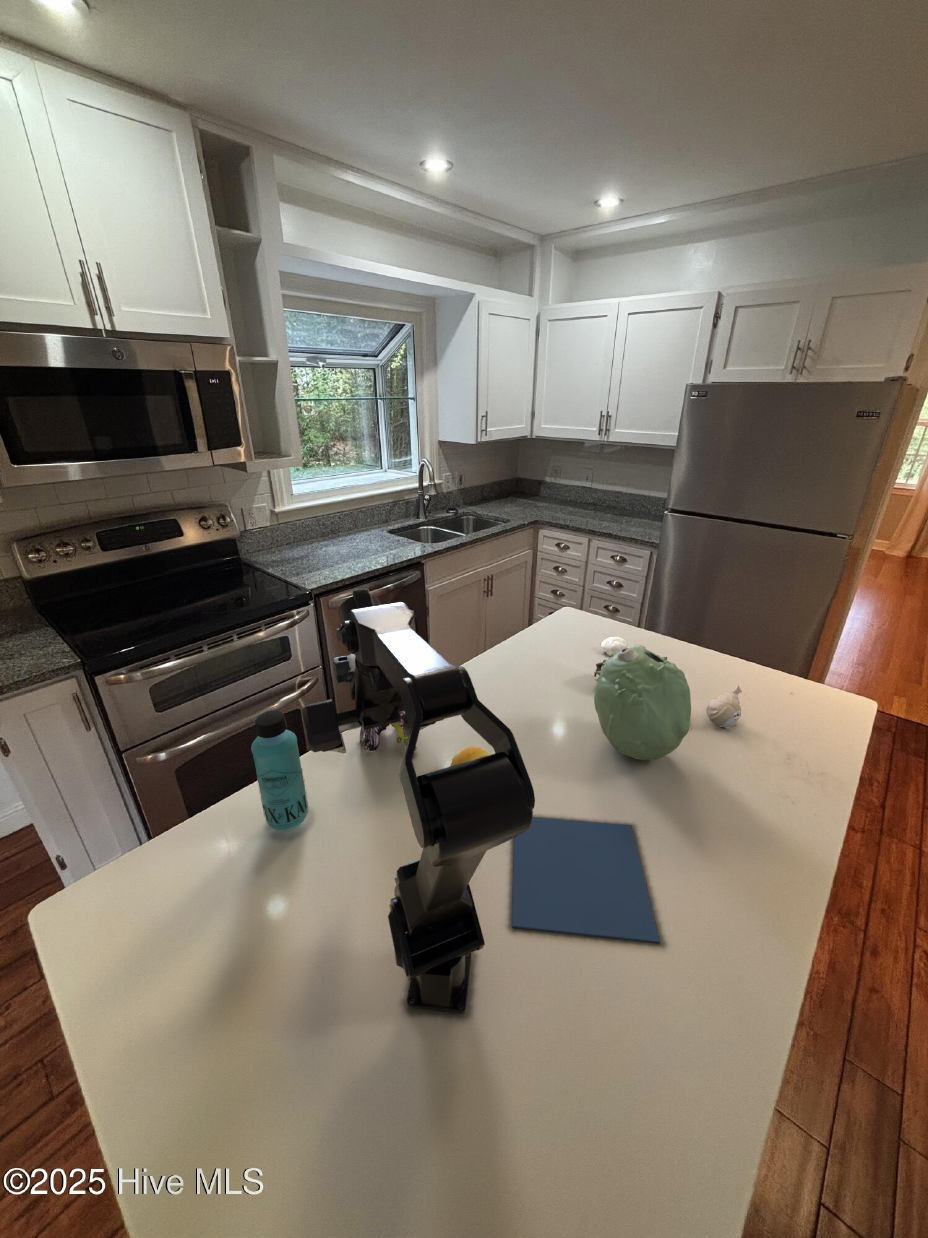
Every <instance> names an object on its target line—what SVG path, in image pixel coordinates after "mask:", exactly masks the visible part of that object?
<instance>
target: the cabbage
mask: <svg viewBox="0 0 928 1238" xmlns="http://www.w3.org/2000/svg"><path fill="white" fill-rule="evenodd" d="M610 655H611V656H612V657H611V656H609V657H608V658H607V659H606V658H605V659H602V662H603V665H602V667H601V671H597V672H595V671H594V672H593V674H594V673H595V674H597V676H598V677H597V678H595V681H596V685H595V691H594V696H593V702H594V703H593V704H594V709H595V712H596V714H597V718H598V721H599V725H600V728H601V730H602V732H603V735H604V736H605V738H607V740H608V741H609V744H610V745H611V746H613V747H614V749H616V750H617V751H618V752H619V753H621V754H622V755H624V756H626V757H631V758H633V759H637V760H641V761H653V760H658V759H661V758H664V757H666V756H667V755H669V754H671V753H673V752H674V751H676V750H677V749H678V748H679V747H680V745H681V744H682V741H683V739H684V738H685V737H686V736H687V735H688V733H689V732H690V727H691V715H692V701H691V699H692V697H691V689H690V686H689V684H688V680H687V678H686V675H685V673H684V671H683V670H682V669H680V668H679V667H678V666H677V665H676V663H674V662H670V661H669V660H668V656H660V655H658V654H656V653H654V652H653V651H651V650H649V649H647V648H646V646H645V645H643V644H635V645H634V646H633V647H630V648H628V647H627V648H623V649H622V650H620V651H618V652H617V654H610Z"/></svg>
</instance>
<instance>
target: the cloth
mask: <svg viewBox="0 0 928 1238" xmlns="http://www.w3.org/2000/svg"><path fill="white" fill-rule="evenodd" d="M512 868H513V869H512V870H513V871H512V907H511V909H512V910H511V912H512V913H511V928H514V929H515V928H516V929H526V930H534V931H542V932H543V931H544V932H551V933H553V932H554V933H563V934H572V935H580V936H592V937H599V938H607V939H608V938H609V939H616V940H617V939H618V940H627V941H637V942H646V943H656V944H661V939H660V935H659V931H658V926H657V922H656V919H655V914H654V911H653V905H652V902H651V898H650V894H649V889H648V886H647V882H646V877H645V873H644V869H643V865H642V861H641V857H640V853H639V849H638V845H637V841H636V837H635V833H634V828H633V825H632V824H625V823H623V824H622V823H610V822H597V821H588V820H587V821H586V820H575V819H565V818H564V819H563V818H551V817H550V818H549V817H539V816H533V817H532V822H531V825H530V827H529V829H528V830H527V831H525V832H523V833H522V834H520V835H519V836H517V837H515V838H513V866H512Z"/></svg>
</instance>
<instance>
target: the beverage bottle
mask: <svg viewBox="0 0 928 1238" xmlns="http://www.w3.org/2000/svg"><path fill="white" fill-rule="evenodd" d="M254 723H255V733H256V736H257V737H256V738H254V740H253V742H252V743H251V747H250V750H251V754H252V757H253V761H254V762H253V763H254V767H255V771H256V775H255V777H256V780H257V786H258V787H257V788H258V790H259V791H258V793H259V796H260V801H261V805H262V810H263V817H265V818H264V820H265V823H266V824H268V826H269V827H270V828H271V829H272V830H275V831H280V832H281V831H289V830H292V829H295V828H296V827H298V826H299V825H301V824H302V823H303V822H304V821H305V820H306V818H307V816H308V813H309V808H310V806H309V800H308V799H309V797H308V796H307V794H308V792H307V790H306V784H305V782H306V780H305V778H304V774H303V768H302V762H301V757H300V752H299V745H298V737H297V735H296V734H295V733H294V732H293V731H291V730H289V729H287V728H288V723H287V720H286V716H285V714H284V712H282V711H280V710H267V711H265V712H262V713H260V714H259V715H258V716H257V717H256V718H255V722H254Z"/></svg>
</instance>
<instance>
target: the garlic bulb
mask: <svg viewBox="0 0 928 1238" xmlns="http://www.w3.org/2000/svg"><path fill="white" fill-rule="evenodd" d="M742 693H743V691H742V690H741V688H740V686H739V685H737V686H736V687H735V688H734V690H733V691H727V692H725V693H722V694H721V695H720V696H718V697H715V698H712V699H710V700H709V702H708V703H707V705H706V709H705V712H706V716H707V718H708V719H709V721H710V722H711V723H712V724H713V725H714V726H717V727H720V728H732V727H733V726H735V725H736V724H737V723H738V722H739V720H740V719H741V717H742V716H741V715H742V709H741V705H740V703H741V702H740V699H739V694H742Z"/></svg>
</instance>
